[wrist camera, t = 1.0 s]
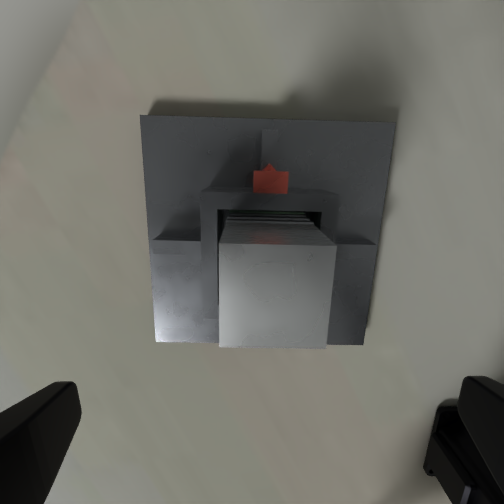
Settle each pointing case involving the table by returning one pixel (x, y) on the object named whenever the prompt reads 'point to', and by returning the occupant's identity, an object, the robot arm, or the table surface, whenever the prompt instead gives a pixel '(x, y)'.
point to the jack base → (259, 207)
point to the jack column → (274, 281)
